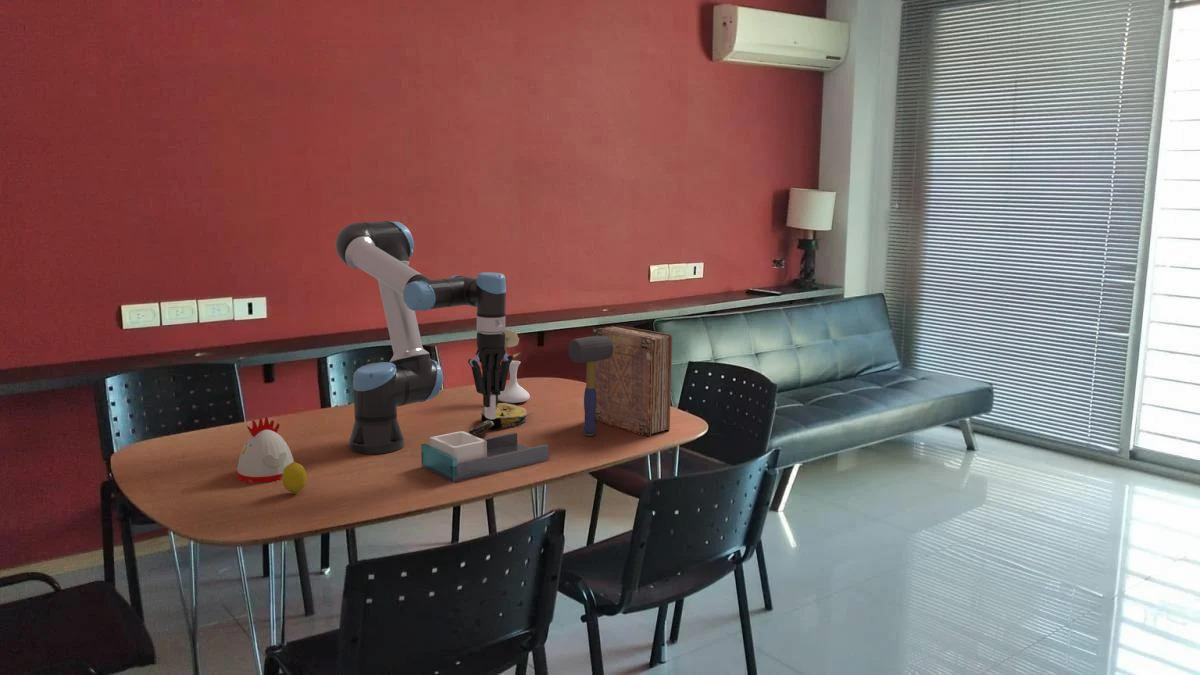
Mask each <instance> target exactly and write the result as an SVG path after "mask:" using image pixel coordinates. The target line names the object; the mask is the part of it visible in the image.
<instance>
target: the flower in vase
mask: <svg viewBox="0 0 1200 675" xmlns="http://www.w3.org/2000/svg"><path fill="white" fill-rule="evenodd" d="M503 332H504V333H505V346H504V347H505V351H506V353H507V354H508V351H507V348H512V347H513V348H514V347H515V346H518V345H519V341H520V337H518V336H519V335H518V333H516V332H515V331H512V329H507V328H505V331H503ZM520 354H521V352H518V353H515V354H513V355H512V356H513V359H514V358H516V357H518V356H519V355H520ZM520 364H521V361H519V360H512V361H511V363H510V366H509V382H508V384H507V385H505V390H504V391H501V392H500V393H501V394H500V395H498V401H499V402H506V403H510V404H517V403H518V404H519V403H522V402H526V401H528V400H529V399H531V398H530V397H531V396H530V393H529V392H528V391H527V390H526V389H525V388H523V387H522V386H521V385H519V383H518V379H517V375H518V368H519V366H520Z"/></svg>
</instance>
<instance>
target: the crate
mask: <svg viewBox="0 0 1200 675" xmlns="http://www.w3.org/2000/svg"><path fill="white" fill-rule="evenodd" d="M483 439H484V438H480V437H478V436H477V435H471V434H469V432H466V431H464V430H460V431H455V432H449V433H445V434H441V435H440V434H439V435H435V436H430V437H429V446H432V447H434V448H436V449H438V450H440V451H442V452H444V453H447V454H449V455H451V456H453V457H455V458H457V464H459V463H464V462H468V461H473V460H477V459H482V458H486V457H487V441H485V440H483Z"/></svg>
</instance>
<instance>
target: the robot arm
mask: <svg viewBox="0 0 1200 675" xmlns="http://www.w3.org/2000/svg"><path fill="white" fill-rule="evenodd" d="M334 248H335V252H336V254H337V256H338V257H339V258H338V259H340V260H341V261H342V262H343V263H344V264H345V265H347V266H349V267H350V268H352V269H355V270H362V271H363V272H365V274H368V275H369V276H371V277H373V278H374V279H375V280H377V285H378V288H379V292H380V297H381V302H382V306H383V312H384V315H385V321H386V326H387V330H388V334H389V339H390V343H391V348H392V352H393V356H392V357H391V359H390V360H389V361H380V362H372V363H368V364H365V365H362V366H360V367H359V368H356V370H355V371H354V373H353V382H352V388H353V404H354V405H353V407H354V408H353V409H354V422H353V423H354V424H353V426H352V429H351V432H350V437H349V439H348V445H349V446H348V447H349V448H348V449H349V450H351V452H354V453H357V454H365V455H366V454H367V455H377V454H387V453H392V452H396V451H398V450H401V449H403V447H404V446H405V436H404V434H403V431H402V429H401V425H400V423H399V421H398V407H403V406H406V405H412V404H416V403H423V402H426V401H428V400H429V401H430V400H433V399H434V398H436V397H437V396H438V395H439V393H440V392H441V389H442V387H443V382H444V380H443V379H444V374H443V370H442V367H441V365H440V364H439V362H438V361H436V360H433V359H432V357H431V355H430V352H429V351H427V350H426V349H424V347H423V343H422V337H421V333H420V330H419V329H420V328H419V324H418V319H417V315H416V311H418V312H419V311H420V312H426V311H430V310H435V309H444V308H445V309H446V308H452V307H460V306H470V307H475V308H476V331H477V332H476V346H477V350H476V352H475V356H473V358H472V359H471V358H470V359H468V361H467V363H468V364H469V365H470V367H471V371H472V372H471V373H472V376H473V382H474V385H475V391H476V392H477V393H478V394H481V395H482V397H483V398H482V399H483V400H482V402H483V403H482V406H483V407H484V408H485V417H486V418H488V419H496V406H497V405H498V402H499V400H498V395H500V394H501V393H500V392H501V391H504V390H505V387H506V386H507V385H506V384H507V380H508V376H509V372H510V370H509V366H510V363H511V361H513V359H514V358H513V355H511V354H509V353H508V352H507V353H506V346H505V333H504V332H503V331H505V329H506V312H507V311H506V309H507V308H506V307H507V306H506V305H507V304H506V303H507V302H506V301H507V299H506V296H507V285H506V284H507V283H506V282H507V281H506V276H505V274H504V273H500V272H493V271H492V272H491V271H487V272H485V271H484V272H480V273H478V274H477V275H476V276H477V277H476V278H475V277H471V276H466V275H452V276H450V277H449V278H441V279H440V278H439V279H431V278H429V277H428V276H426V275H425V274H422V273H421V272H419V271H417V270H416V269H414V268H413V267H411V266H409V265H410V258H412V256H413V253H414V248H415V242H414V238H413V235H412V232H411V231H410V230H409V228H408V227H407V226H406V225H404V224H403V223H402V222H400V221H390V220H384V221H370V222H369V221H368V222H366V221H364V222H363V221H362V222H360V221H359V222H353V223H349V224H347V225H346V226H344V227H342V228H341V230H340V231H339V232H338V234H337V236H336V237H335V245H334ZM480 364H481V366H480ZM481 370H482V371H481Z"/></svg>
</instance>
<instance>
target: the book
mask: <svg viewBox="0 0 1200 675" xmlns="http://www.w3.org/2000/svg"><path fill="white" fill-rule="evenodd" d="M593 336H607V337H609V338H610V339H611V341H612V344H613V353H612V356H611V357H610V358H608V359H604V360H599V361H595V390H596V412H595V422H598V421H599V422H598V423H601V422H602V423H601V424H604V423H605V425H608V424H609V425H608V426H611V425H612V426H611V427H614V426H616V427H615V428H618V427H619V428H618V429H621V428H623V429H622V430H624V429H626V430H625V431H628V430H630V431H629V432H631V431H633V432H632V433H634V432H636V433H635V434H638V433H640V434H639V435H641V434H643V436H645V435H646V437H648V436H650V437H651V436H652V434H656V433H660V432H664V431H665V430H668V431H667V432H669V431H670V430H671V402H672V401H671V396H672V395H671V394H672V363H673V362H672V359H673V357H672V356H673V335H672V334H669V333H665V332H660V331H659V332H658V331H654V330H653V331H652V330H648V329H643V328H642V329H640V328H637V327H636V328H635V327H632V326H631V327H630V326H625V325H624V326H623V325H618V324H610V325H603V326H596V327H592V336H591V337H593Z"/></svg>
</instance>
